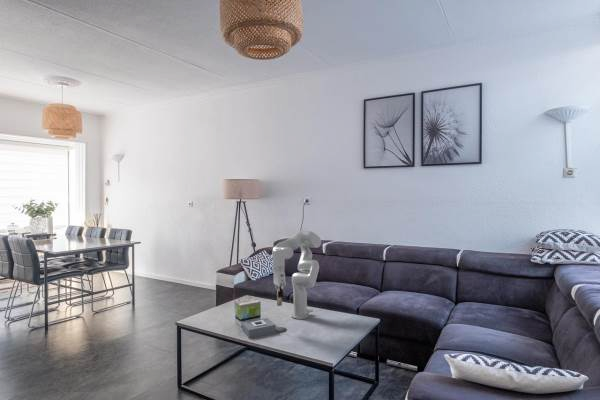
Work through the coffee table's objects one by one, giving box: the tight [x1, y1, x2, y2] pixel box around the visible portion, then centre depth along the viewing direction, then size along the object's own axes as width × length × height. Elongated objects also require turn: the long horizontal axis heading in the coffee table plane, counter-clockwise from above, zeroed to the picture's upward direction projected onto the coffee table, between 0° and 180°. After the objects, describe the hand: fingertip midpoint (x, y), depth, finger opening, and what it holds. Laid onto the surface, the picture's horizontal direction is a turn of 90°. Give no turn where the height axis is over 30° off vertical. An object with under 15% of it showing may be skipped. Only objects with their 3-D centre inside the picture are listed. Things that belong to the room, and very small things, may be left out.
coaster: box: [276, 326, 287, 334], centre depth 232 cm, size 8×8×1 cm
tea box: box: [234, 298, 262, 328], centre depth 247 cm, size 15×10×15 cm, turn 123°
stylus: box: [276, 286, 283, 307], centre depth 232 cm, size 3×3×12 cm
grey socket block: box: [241, 318, 277, 339], centre depth 231 cm, size 18×14×6 cm
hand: (279, 296), depth 232 cm, fingers closed on stylus, 3 cm apart
